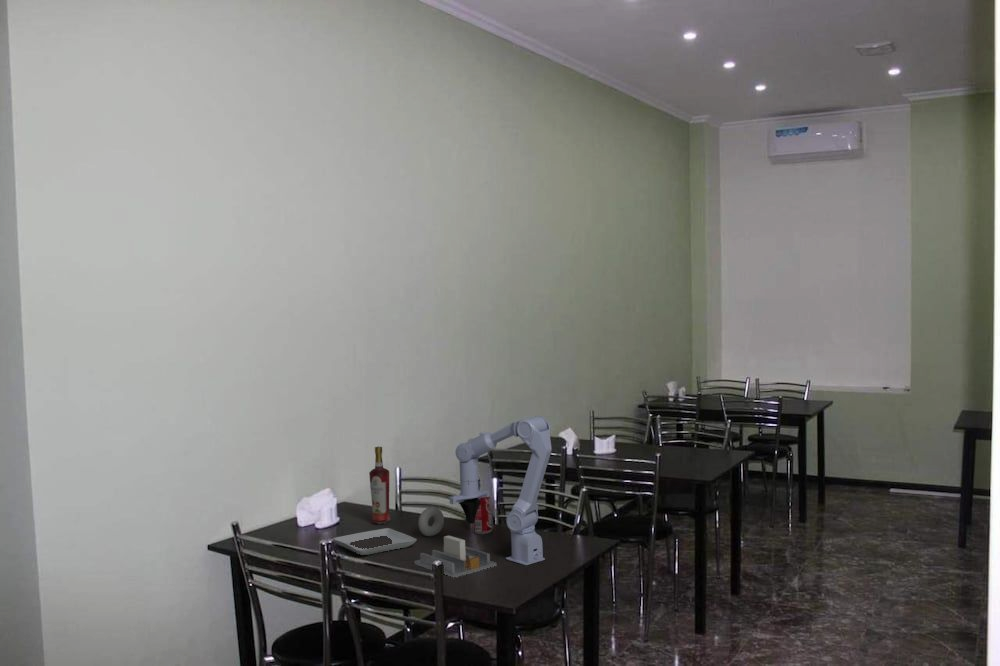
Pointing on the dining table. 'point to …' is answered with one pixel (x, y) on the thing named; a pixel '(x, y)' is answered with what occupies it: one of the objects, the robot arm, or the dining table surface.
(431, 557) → the rack
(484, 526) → the soda can
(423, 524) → the donut
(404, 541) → the salad plate
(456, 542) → the panel
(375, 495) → the liquor
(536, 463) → the robot arm
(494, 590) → the dining table surface
